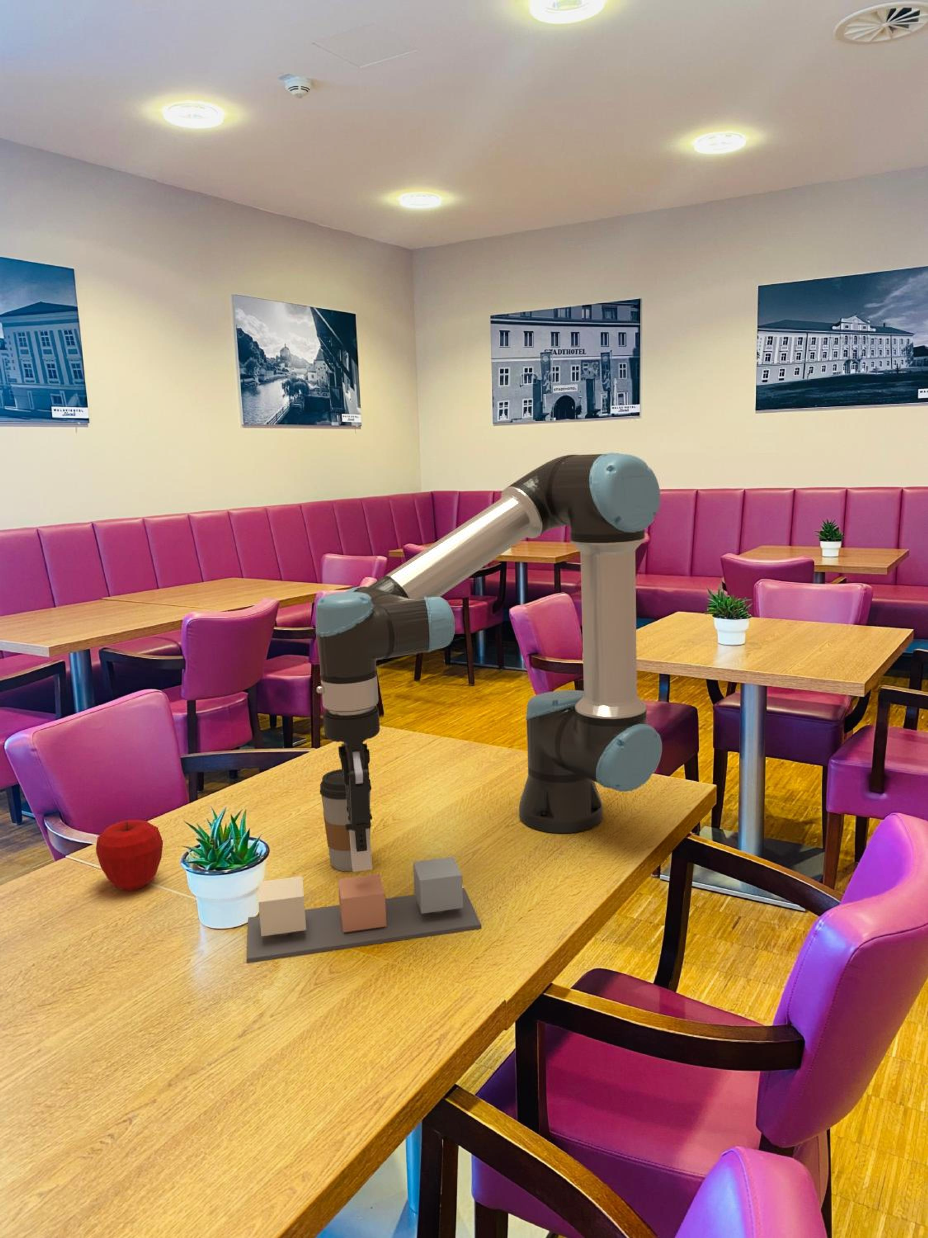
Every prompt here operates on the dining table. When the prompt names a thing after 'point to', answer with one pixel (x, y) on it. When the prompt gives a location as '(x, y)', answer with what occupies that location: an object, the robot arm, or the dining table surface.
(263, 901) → the block cream
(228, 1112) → the dining table surface
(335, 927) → the strip
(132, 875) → the apple
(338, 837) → the coffee cup
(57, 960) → the dining table surface
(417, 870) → the block slate
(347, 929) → the block terracotta
